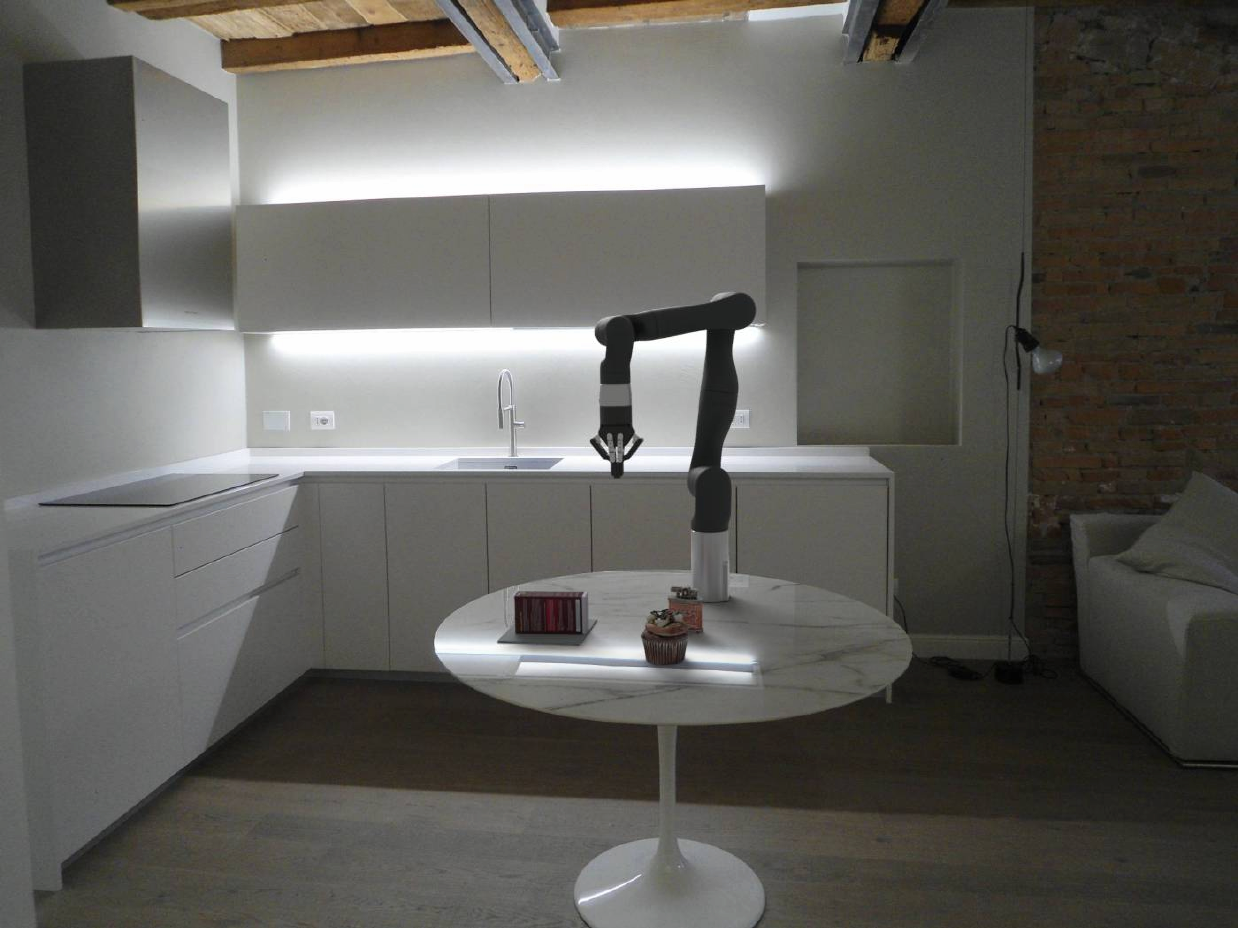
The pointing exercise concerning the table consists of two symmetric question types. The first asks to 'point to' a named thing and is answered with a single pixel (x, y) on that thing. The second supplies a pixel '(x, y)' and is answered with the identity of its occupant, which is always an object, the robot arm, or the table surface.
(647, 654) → the cupcake
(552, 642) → the mat
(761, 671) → the table surface
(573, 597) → the supplement box
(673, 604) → the lighter
